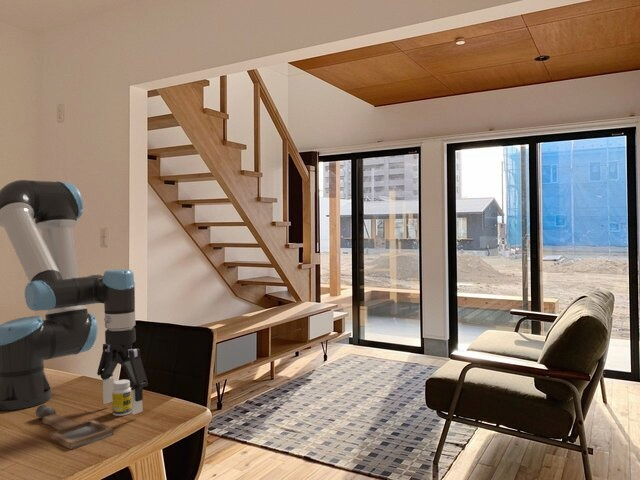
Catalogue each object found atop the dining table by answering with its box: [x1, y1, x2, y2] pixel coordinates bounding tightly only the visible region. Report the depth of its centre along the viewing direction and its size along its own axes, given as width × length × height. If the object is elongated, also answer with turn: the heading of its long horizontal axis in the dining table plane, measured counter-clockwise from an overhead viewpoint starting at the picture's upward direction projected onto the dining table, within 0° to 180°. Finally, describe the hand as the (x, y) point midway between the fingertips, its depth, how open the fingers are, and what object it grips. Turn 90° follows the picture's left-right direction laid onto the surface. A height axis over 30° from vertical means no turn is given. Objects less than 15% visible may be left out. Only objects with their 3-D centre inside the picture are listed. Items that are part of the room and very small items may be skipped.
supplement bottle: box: [112, 379, 132, 417], centre depth 133 cm, size 5×5×8 cm
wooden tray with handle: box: [35, 404, 114, 450], centre depth 123 cm, size 26×10×3 cm, turn 53°
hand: (122, 407), depth 133 cm, fingers open, 13 cm apart
